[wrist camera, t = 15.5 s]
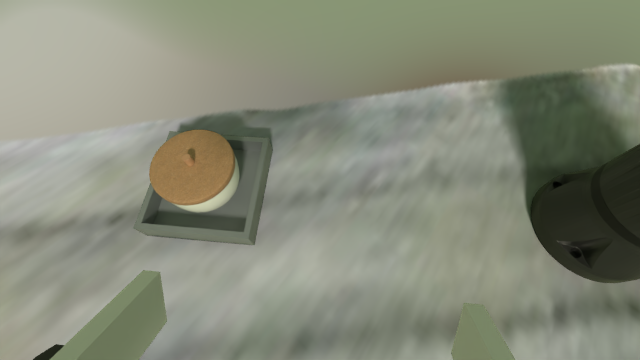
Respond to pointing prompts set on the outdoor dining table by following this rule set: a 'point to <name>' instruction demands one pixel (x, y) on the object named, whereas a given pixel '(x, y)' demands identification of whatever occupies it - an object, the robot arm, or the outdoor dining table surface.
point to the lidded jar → (195, 171)
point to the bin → (225, 222)
